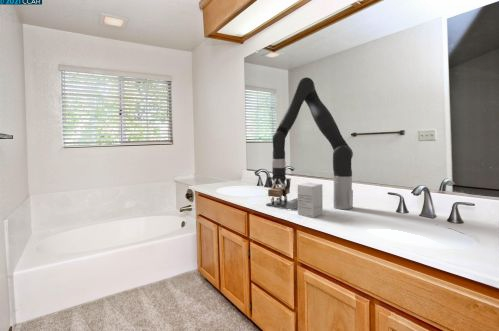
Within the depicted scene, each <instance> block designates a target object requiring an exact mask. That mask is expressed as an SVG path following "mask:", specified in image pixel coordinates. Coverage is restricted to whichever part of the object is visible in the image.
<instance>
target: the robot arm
mask: <svg viewBox="0 0 499 331" xmlns="http://www.w3.org/2000/svg"><path fill="white" fill-rule="evenodd" d="M294 91H295V92H294V93H293V96H292V99H291V100H290V103H289V105H288V107H287V109H286V111H285V113H284V114H283V116H282V118H281V120H280V121H279V124H278V127H277V128H276V130H275V132H274V133H273V135H272V162H271V165H272V168H271V169H272V174H271V175H272V176H269V177H268V178H267V181H268V182H267V183H268V188H269V189H273V188H277V185H280V187H282V188H283V196H282V197H284V196H286V195H287V196H288V194H287V189H289V188H291V180H292V179H291V178H290V177H289V178H288V177H286V173H287V172H286V171H287V169H286V167H287V166H286V150H285V148H286V147H285V146H286V137H288V134H289V132H290V130H291V129H292V127H293V125H294V124H295V122H296V121H297V117H298V115H299V114H300V111H301V107H302V105H303V104H304V102H305V103H306V106H307V107H308V108H309V111H310V113H311V114H310V115H311V116H312V118H313V121H314V123H315V124H316V126H317V128H318V130H319V131H320V133H321V135H323V136H324V137H325V139H326V140H327V141H328V142H329V144H330V146H331V147H332V150H333V153H332V170H333V171H332V172H333V208H334V209H338V210H351V209H352V208H353V207H354V189H352V188H353V184H352V183H353V171H352V170H353V169H352V159H353V155H354V152H353V150H352V148H351V147H350V146H349V144H348V143H347V142H346V140H345V139H344V137H343V135H342V133H341V131H340V129H339V127H338V125H337V123H336V120H335V119H334V117H333V115H332V113H331V112H330V110H329V109H328V108H327V107H326V105H325V104H324V102H322V100H321V98H320V97H319V94H318V92H317V90H316V87H315V83H314V81H313V79H312V78H310V77H307V76H306V77H302V78H300V79H299V81H298V83H297V85H296V89H295V90H294Z"/></svg>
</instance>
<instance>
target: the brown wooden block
mask: <svg viewBox="0 0 499 331" xmlns="http://www.w3.org/2000/svg"><path fill="white" fill-rule="evenodd" d="M290 188H291V187H290ZM290 188H289V189H287V195H288V194H290V193H291V191H290ZM267 192H268V193H267V195H268V197H274V198H279V197H280V196H282V197H284V196H283V188H282V186H278V187H277V186H276V187H275V188H273V189H272V188H269V189H268V190H267Z"/></svg>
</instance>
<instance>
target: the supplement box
mask: <svg viewBox="0 0 499 331" xmlns="http://www.w3.org/2000/svg"><path fill="white" fill-rule="evenodd" d="M297 198H298V208H297V215H298V214H299V215H298V216H303V217H308V218H315V217H318V216H321V215H323V214H324V213H323V210H324V209H323V184H322V183H313V182H305V183H301V184H297Z"/></svg>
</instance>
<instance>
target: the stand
mask: <svg viewBox="0 0 499 331" xmlns="http://www.w3.org/2000/svg"><path fill="white" fill-rule="evenodd" d="M287 201H288V202H287V205H286V210H288V209H291V210H290V211H294V210H296V209H298V197H296V198H294V199H291V200H287ZM295 208H296V209H295ZM293 209H294V210H293Z"/></svg>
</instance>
